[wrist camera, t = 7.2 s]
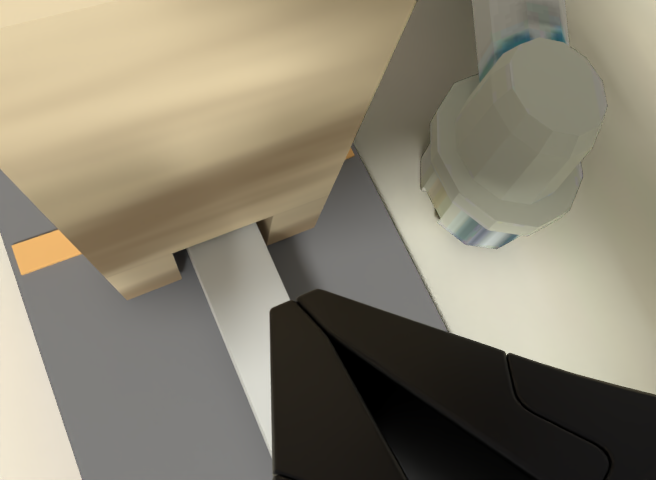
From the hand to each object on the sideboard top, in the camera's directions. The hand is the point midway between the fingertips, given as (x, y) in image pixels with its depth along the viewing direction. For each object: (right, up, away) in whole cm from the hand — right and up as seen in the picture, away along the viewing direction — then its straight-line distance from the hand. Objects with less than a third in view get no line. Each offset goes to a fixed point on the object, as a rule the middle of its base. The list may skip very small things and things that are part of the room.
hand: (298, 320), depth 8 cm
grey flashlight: (+7, +13, +16) cm, 22 cm away
